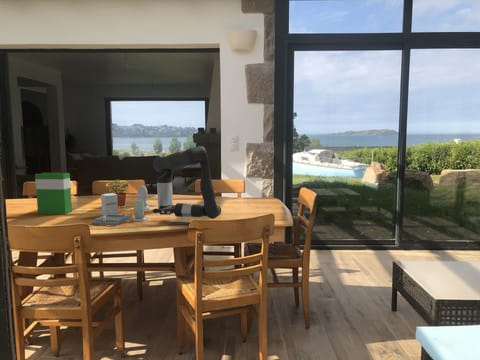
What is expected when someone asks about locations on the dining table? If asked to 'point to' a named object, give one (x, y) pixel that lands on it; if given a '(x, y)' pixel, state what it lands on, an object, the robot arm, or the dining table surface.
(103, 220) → the locating board
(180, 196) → the dining table surface
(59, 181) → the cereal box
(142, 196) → the chess piece
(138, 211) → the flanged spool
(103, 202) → the supplement box
